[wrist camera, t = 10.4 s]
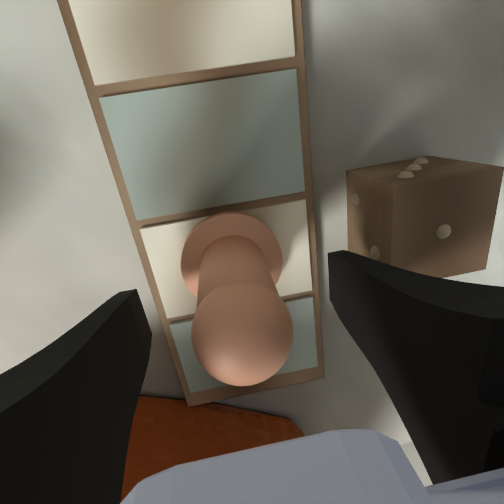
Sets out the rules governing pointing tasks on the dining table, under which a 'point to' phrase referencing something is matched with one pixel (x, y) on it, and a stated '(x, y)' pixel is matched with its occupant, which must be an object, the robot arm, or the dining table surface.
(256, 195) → the board
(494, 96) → the dining table surface
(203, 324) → the pawn
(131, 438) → the bread
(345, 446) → the robot arm
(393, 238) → the die
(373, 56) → the dining table surface
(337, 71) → the dining table surface
